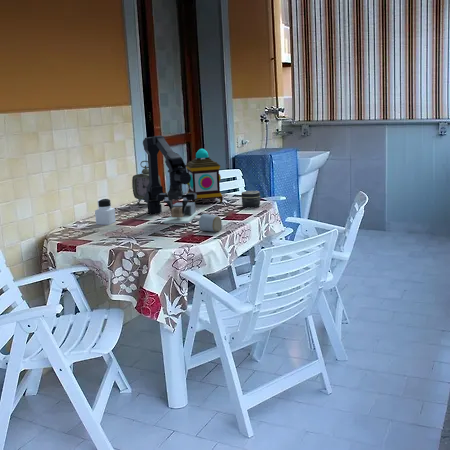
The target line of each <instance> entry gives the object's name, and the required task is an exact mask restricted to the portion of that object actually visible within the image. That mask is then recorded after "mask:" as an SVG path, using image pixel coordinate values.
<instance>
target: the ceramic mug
mask: <svg viewBox="0 0 450 450" xmlns="http://www.w3.org/2000/svg"><path fill="white" fill-rule="evenodd" d="M198 227H199V229H200V230H201V231H202V232H211V233H216V232H219V231H220V229H221V230H222V229H223V224H222V219H221V217H220V216H218V215H214V214H208V213H203V214H201V216H199V219H198Z"/></svg>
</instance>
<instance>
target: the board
mask: <svg viewBox="0 0 450 450" xmlns="http://www.w3.org/2000/svg"><path fill="white" fill-rule="evenodd" d="M198 215H199V212H198V211H196V212H195V213H194V214H193V215H190V212H184V216H183V217H172V214H171V215H170V216H169V217H167V218H165V220H163V224H166V225H167V224H189V223H190V222H191V221H193V219H195V218H196V216H198Z"/></svg>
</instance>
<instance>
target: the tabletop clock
mask: <svg viewBox="0 0 450 450" xmlns="http://www.w3.org/2000/svg"><path fill="white" fill-rule="evenodd" d="M142 163H148V160H142V161H141V162H140V164H139V165H140V167H141V168H142V170H141V173H138V174H134V175H132V179H131V181H132V182H131V186H132V187H131V188H132V192H133V193H132V194H133V196H134V198H135V199H137V200H138V201H136V205H140V202H141V201H142V200H143V201H144V196H145V194H146V188H147V186H148V184H149V169H148V166H147V165H144V166H143V165H142ZM158 178H159V184H160V185H161V186H162V182H161V176H160V175H159V174H158Z"/></svg>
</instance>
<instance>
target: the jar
mask: <svg viewBox="0 0 450 450" xmlns="http://www.w3.org/2000/svg"><path fill="white" fill-rule="evenodd" d="M240 197H241V204H242V206H243V208H245V207H246V208H247V207H250V208H249V209H252V208H251V207H254V208H258V206H259V207H260V205H261V192H260V191H259V190H245V191H242V192H241V196H240ZM247 209H248V208H247Z"/></svg>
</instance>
